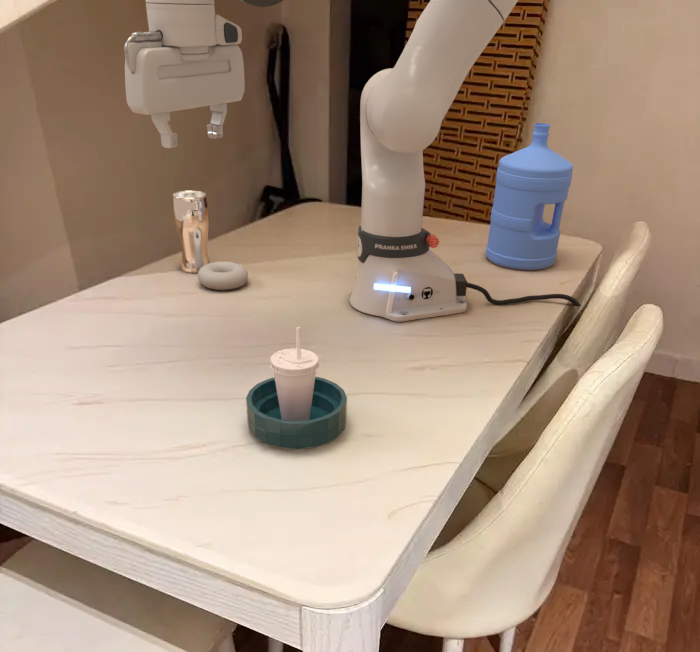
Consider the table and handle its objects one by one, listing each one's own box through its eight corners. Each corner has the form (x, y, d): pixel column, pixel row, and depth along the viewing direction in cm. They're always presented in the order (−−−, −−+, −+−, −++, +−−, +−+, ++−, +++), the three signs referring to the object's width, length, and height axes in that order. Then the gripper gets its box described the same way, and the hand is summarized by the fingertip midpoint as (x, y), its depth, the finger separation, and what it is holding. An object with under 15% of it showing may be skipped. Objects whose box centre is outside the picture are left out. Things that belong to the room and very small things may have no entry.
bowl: (335, 398, 103) (335, 371, 100) (355, 447, 92) (356, 418, 90) (243, 406, 100) (242, 378, 98) (253, 457, 90) (252, 427, 87)
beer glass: (181, 262, 150) (173, 189, 142) (214, 262, 151) (208, 190, 142) (177, 273, 145) (169, 198, 136) (211, 273, 145) (205, 198, 137)
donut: (215, 273, 146) (188, 287, 138) (213, 256, 144) (187, 270, 136) (257, 280, 143) (232, 295, 135) (256, 263, 141) (231, 278, 134)
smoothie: (312, 437, 93) (312, 340, 85) (266, 431, 94) (261, 334, 86) (323, 413, 98) (324, 320, 90) (279, 408, 99) (276, 314, 91)
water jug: (477, 265, 155) (496, 126, 139) (493, 245, 167) (512, 116, 151) (548, 276, 150) (576, 134, 134) (559, 255, 162) (586, 122, 146)
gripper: (141, 33, 84) (156, 156, 92) (249, 28, 99) (254, 135, 107) (105, 30, 87) (123, 150, 95) (215, 26, 101) (223, 130, 109)
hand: (193, 142), depth 101 cm, fingers open, 8 cm apart
